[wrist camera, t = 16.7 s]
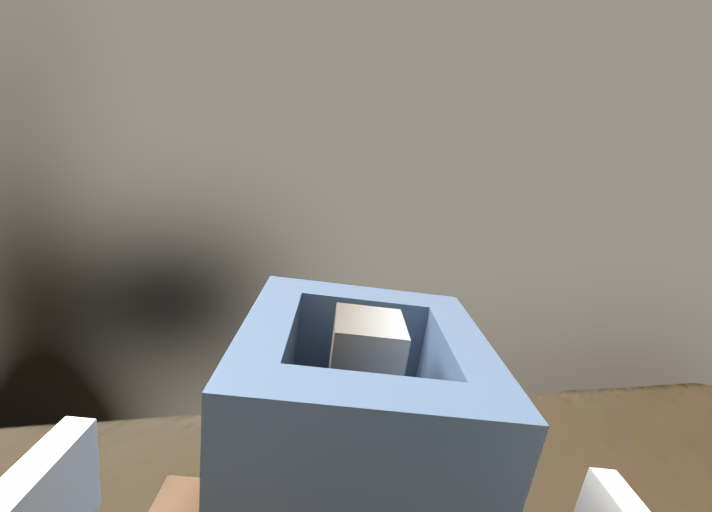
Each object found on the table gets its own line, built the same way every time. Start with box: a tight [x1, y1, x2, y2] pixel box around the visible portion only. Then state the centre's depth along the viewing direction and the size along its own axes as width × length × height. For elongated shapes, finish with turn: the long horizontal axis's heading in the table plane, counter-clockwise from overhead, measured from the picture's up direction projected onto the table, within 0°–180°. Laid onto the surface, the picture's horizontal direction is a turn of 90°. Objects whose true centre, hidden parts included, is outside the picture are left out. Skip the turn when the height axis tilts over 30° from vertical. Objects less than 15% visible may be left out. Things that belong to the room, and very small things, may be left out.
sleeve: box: [199, 276, 549, 512], centre depth 13 cm, size 7×7×12 cm
